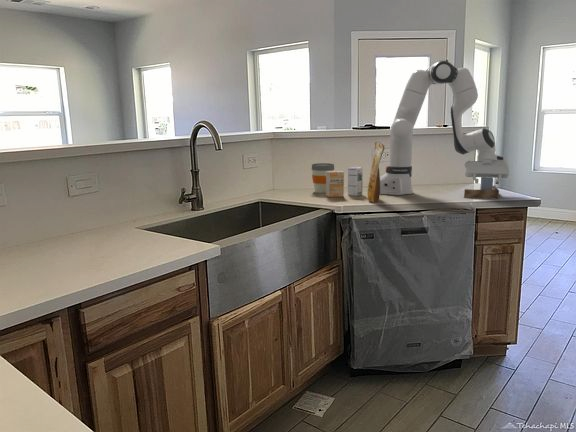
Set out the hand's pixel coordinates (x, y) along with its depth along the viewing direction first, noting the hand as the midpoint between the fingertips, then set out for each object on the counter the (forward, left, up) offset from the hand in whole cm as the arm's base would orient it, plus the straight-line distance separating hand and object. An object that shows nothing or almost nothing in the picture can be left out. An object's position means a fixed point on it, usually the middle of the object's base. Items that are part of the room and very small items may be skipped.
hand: (486, 183), depth 226 cm
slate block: (0, +1, -7) cm, 7 cm away
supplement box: (-73, -16, -7) cm, 76 cm away
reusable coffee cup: (-83, -1, -7) cm, 84 cm away
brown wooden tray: (-3, +4, -7) cm, 8 cm away
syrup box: (-64, -8, -7) cm, 65 cm away
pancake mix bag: (-52, -21, -7) cm, 57 cm away
